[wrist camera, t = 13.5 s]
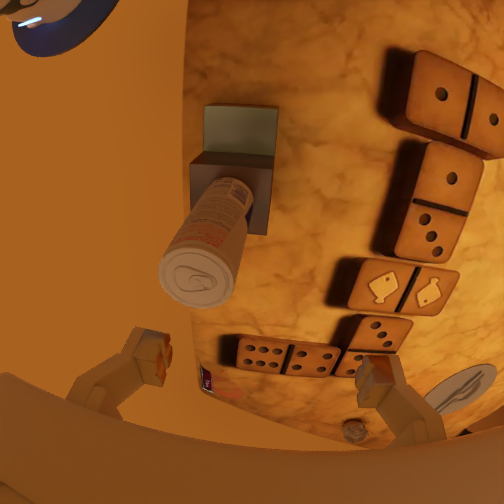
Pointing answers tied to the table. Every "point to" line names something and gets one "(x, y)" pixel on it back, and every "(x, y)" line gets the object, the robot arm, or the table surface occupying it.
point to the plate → (461, 388)
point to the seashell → (354, 431)
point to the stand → (238, 154)
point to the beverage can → (209, 246)
